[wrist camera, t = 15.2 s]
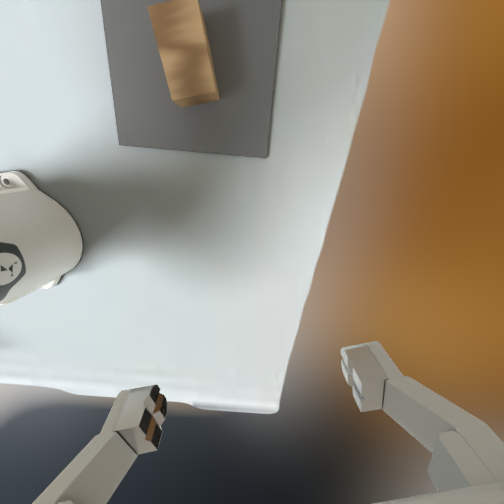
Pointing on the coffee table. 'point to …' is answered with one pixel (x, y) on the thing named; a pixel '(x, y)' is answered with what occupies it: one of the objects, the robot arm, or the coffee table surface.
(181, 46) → the oak block
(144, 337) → the coffee table surface
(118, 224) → the coffee table surface
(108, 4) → the charcoal mat
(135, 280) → the coffee table surface
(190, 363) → the coffee table surface
